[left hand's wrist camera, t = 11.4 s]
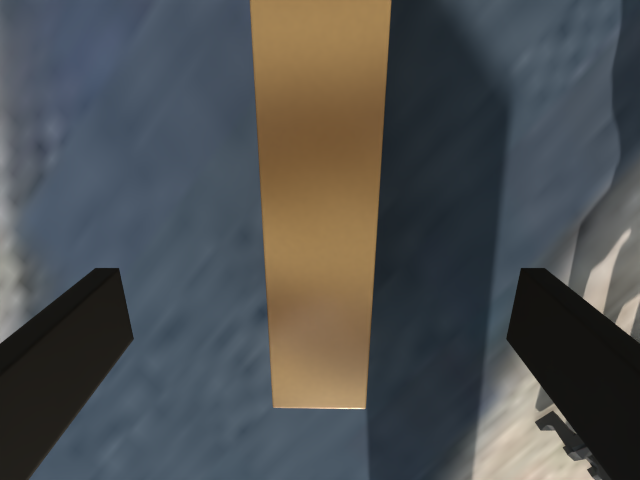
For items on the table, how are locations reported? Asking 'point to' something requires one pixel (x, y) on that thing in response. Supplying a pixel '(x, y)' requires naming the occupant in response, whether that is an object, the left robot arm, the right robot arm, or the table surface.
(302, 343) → the post
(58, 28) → the table surface
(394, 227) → the table surface
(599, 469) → the toy
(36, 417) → the left robot arm
